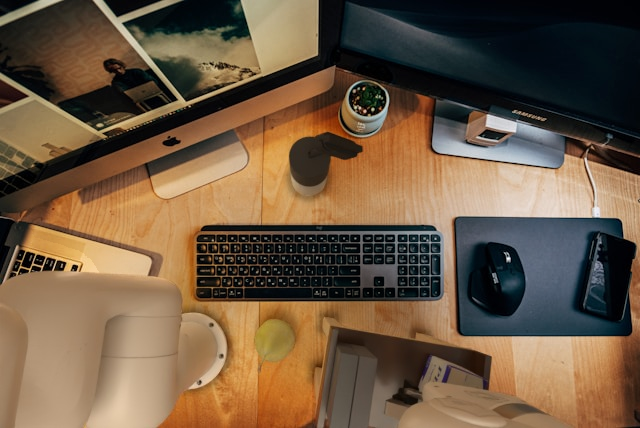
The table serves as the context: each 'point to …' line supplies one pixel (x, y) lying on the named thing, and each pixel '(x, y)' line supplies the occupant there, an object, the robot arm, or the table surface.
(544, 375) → the table surface
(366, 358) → the grey book
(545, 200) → the table surface
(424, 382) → the box
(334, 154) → the track light
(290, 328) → the fruit
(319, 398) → the brown shallow tray
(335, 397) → the grey book
